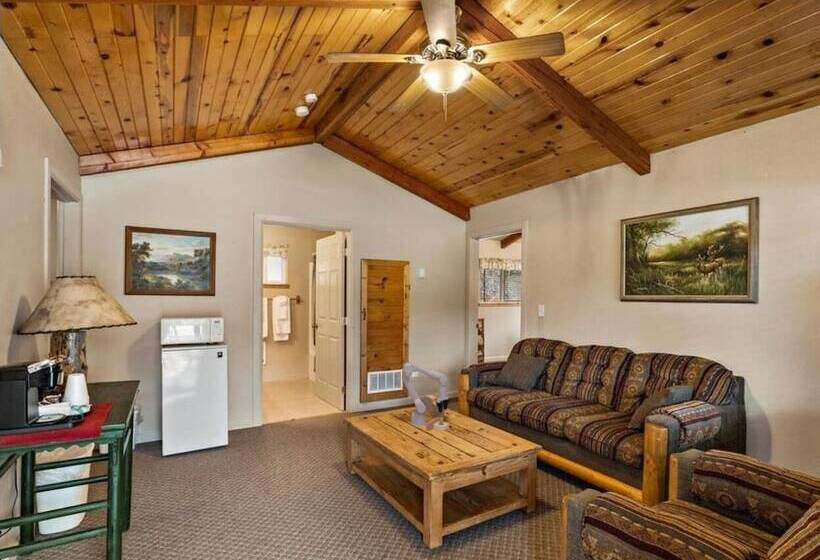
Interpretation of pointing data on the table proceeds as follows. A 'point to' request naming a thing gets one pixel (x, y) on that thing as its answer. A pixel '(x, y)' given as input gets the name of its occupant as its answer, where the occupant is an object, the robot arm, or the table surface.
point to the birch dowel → (440, 420)
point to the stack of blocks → (432, 405)
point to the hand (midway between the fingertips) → (442, 410)
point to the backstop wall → (432, 423)
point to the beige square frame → (441, 426)
